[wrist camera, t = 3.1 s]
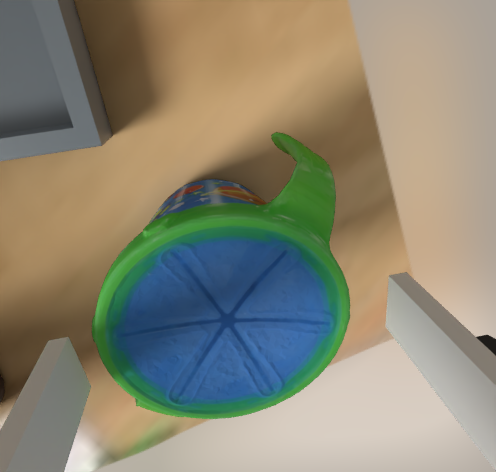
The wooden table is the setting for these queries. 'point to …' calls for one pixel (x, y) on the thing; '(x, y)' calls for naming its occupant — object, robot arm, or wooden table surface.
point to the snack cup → (227, 296)
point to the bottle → (1, 388)
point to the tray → (47, 81)
